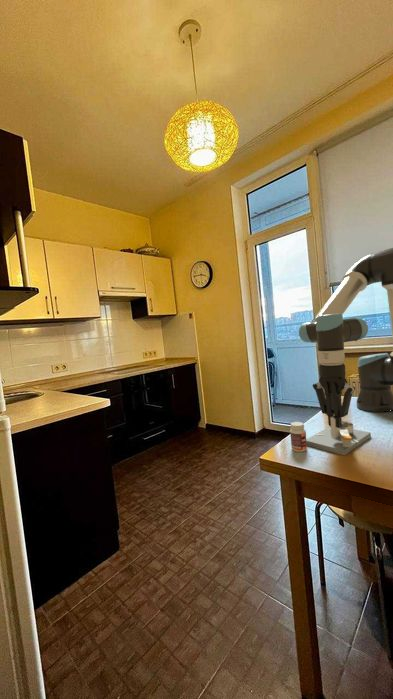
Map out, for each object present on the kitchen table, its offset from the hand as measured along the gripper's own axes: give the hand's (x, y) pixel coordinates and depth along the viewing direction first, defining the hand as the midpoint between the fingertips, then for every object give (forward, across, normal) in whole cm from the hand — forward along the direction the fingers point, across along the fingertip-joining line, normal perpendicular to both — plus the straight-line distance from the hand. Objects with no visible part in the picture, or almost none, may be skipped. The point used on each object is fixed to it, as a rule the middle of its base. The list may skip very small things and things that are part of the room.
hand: (335, 436), depth 92 cm
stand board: (+3, -2, +4) cm, 6 cm away
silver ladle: (+1, +1, +3) cm, 4 cm away
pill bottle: (+4, -8, -9) cm, 12 cm away
